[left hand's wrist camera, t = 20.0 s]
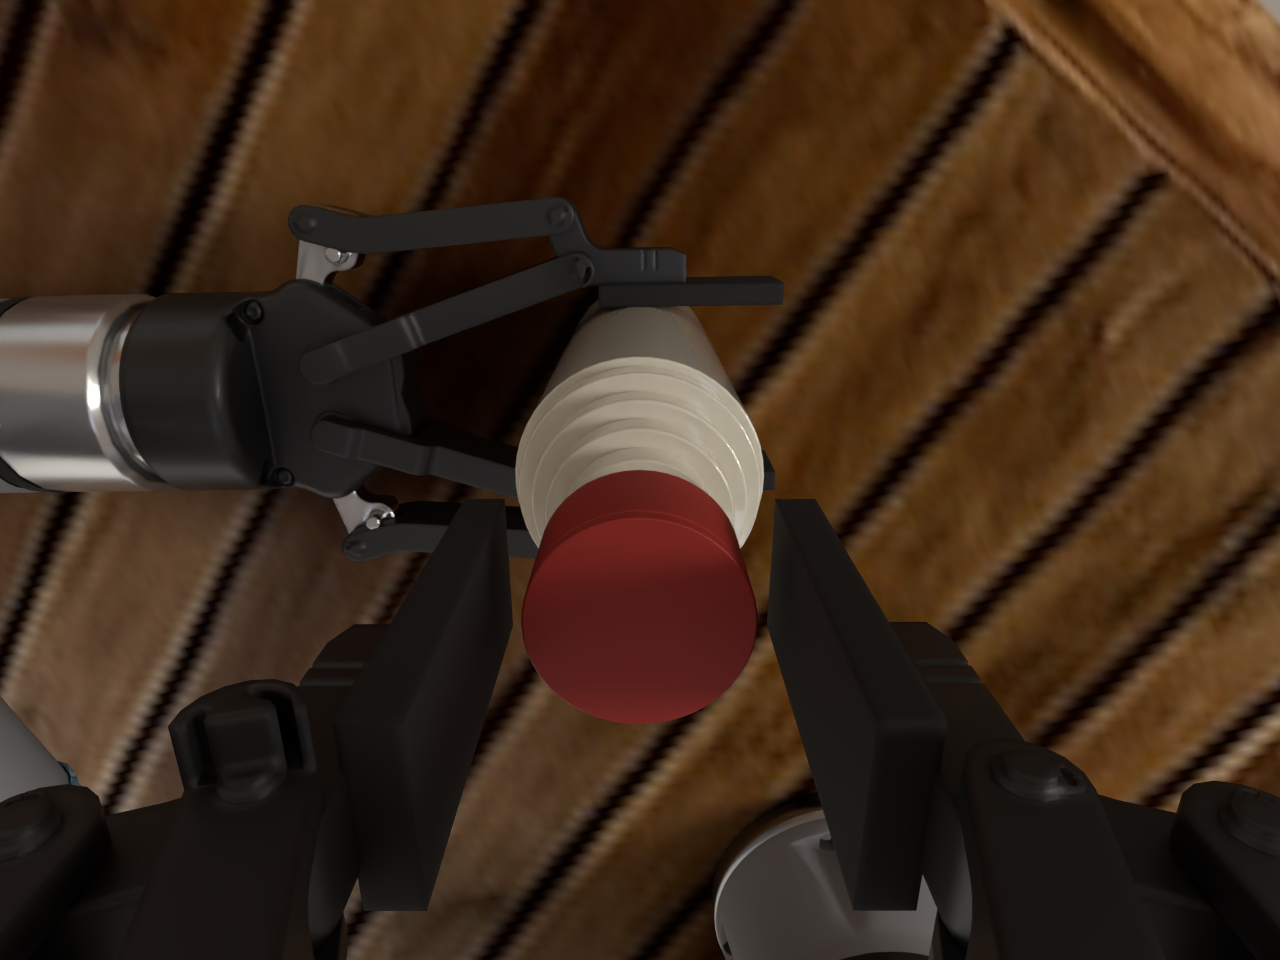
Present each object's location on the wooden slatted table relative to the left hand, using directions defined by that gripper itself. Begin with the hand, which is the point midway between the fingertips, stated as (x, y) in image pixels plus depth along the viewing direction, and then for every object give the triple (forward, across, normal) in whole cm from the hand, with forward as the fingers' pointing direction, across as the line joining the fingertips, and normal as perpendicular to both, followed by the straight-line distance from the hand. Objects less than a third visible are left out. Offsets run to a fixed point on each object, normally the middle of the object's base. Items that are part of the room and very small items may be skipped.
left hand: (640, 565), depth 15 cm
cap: (-2, 0, 0) cm, 2 cm away
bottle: (+22, 0, 0) cm, 22 cm away
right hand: (+15, -5, 0) cm, 16 cm away
